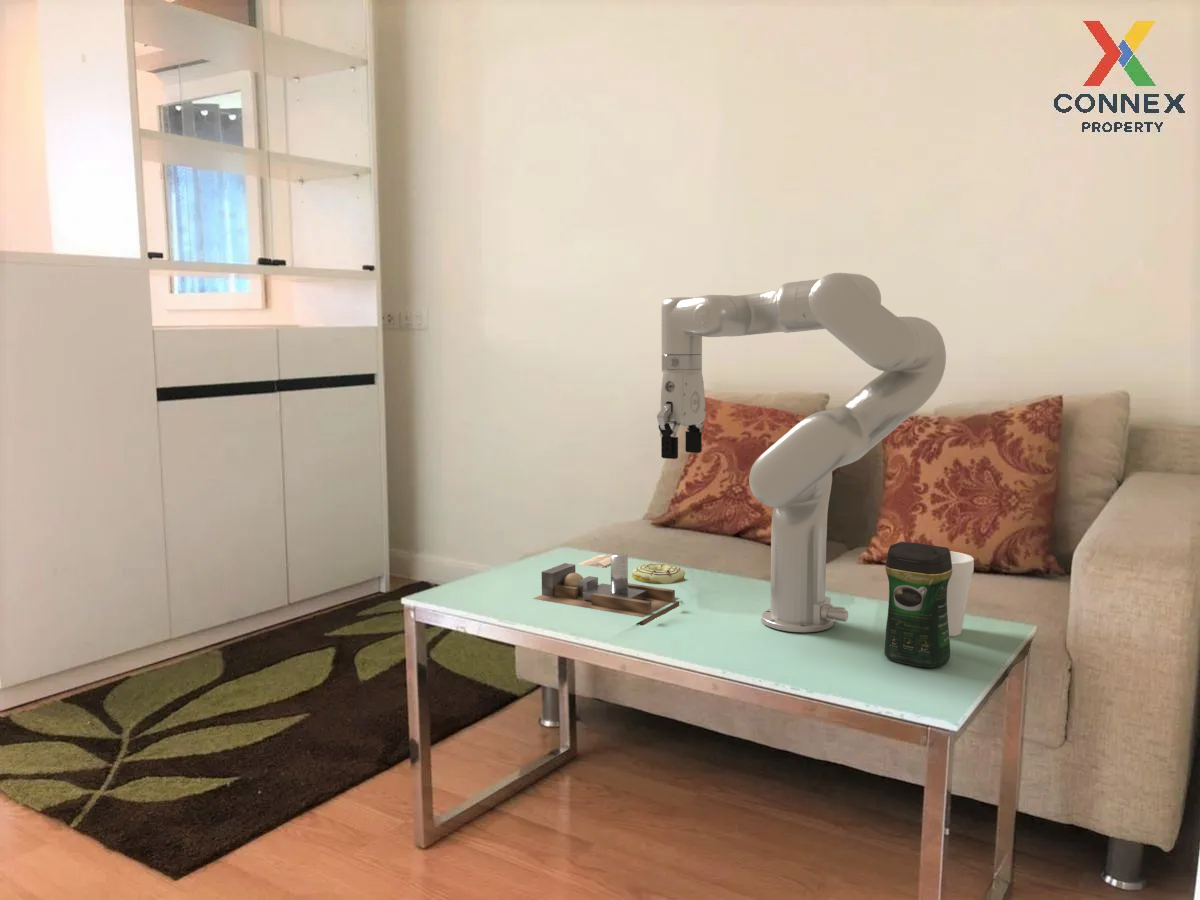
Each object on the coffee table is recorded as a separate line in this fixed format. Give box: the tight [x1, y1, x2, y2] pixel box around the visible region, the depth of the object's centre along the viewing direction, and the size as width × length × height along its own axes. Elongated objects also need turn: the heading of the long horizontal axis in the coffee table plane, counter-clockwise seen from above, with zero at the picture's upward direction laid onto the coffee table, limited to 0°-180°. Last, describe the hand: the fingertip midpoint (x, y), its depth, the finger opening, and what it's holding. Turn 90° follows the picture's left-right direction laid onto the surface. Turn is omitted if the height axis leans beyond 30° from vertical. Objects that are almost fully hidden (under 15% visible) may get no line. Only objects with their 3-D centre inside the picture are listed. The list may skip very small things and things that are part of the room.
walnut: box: [564, 572, 584, 588], centre depth 189 cm, size 4×4×4 cm
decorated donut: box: [631, 563, 686, 585], centre depth 200 cm, size 10×11×4 cm
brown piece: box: [532, 562, 680, 626], centre depth 185 cm, size 24×14×6 cm, turn 58°
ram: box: [578, 552, 647, 601], centre depth 184 cm, size 12×7×8 cm, turn 58°
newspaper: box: [578, 554, 611, 569], centre depth 212 cm, size 24×7×2 cm, turn 150°
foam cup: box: [947, 550, 975, 637], centre depth 167 cm, size 10×9×13 cm
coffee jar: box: [883, 541, 952, 668], centre depth 153 cm, size 10×8×19 cm
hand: (681, 455), depth 184 cm, fingers open, 9 cm apart
